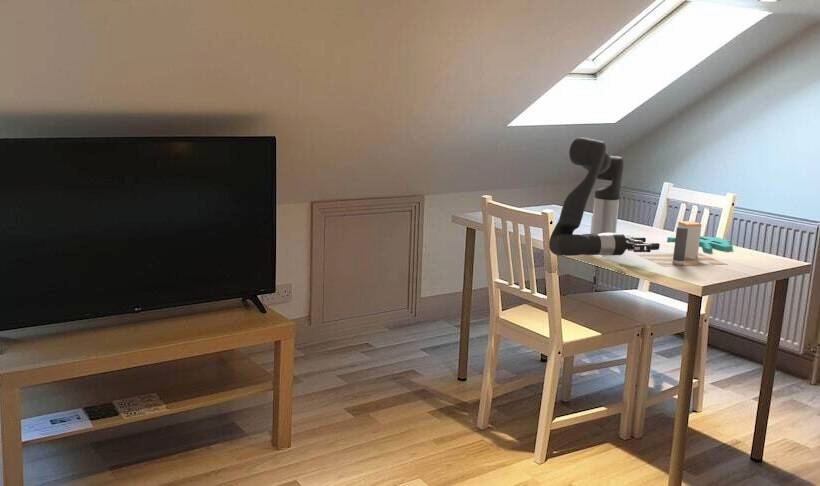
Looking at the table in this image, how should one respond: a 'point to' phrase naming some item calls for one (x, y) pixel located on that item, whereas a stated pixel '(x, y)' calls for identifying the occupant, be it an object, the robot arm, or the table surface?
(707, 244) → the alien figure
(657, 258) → the subfloor panel
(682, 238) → the dark grey tall block
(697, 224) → the white orange-topped block
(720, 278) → the table surface
